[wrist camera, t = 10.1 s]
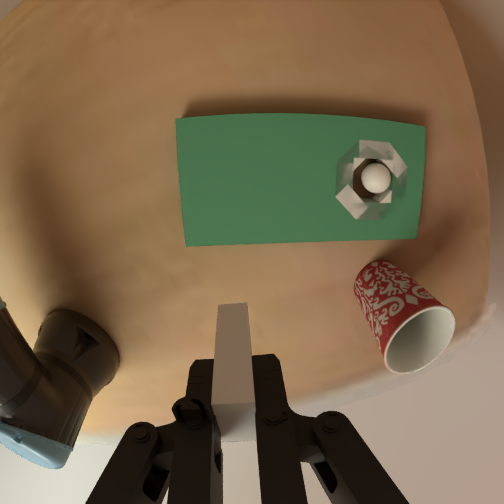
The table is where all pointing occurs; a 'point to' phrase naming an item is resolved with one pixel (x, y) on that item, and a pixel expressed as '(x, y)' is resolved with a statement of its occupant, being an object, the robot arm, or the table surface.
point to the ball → (376, 178)
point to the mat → (295, 178)
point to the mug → (403, 317)
